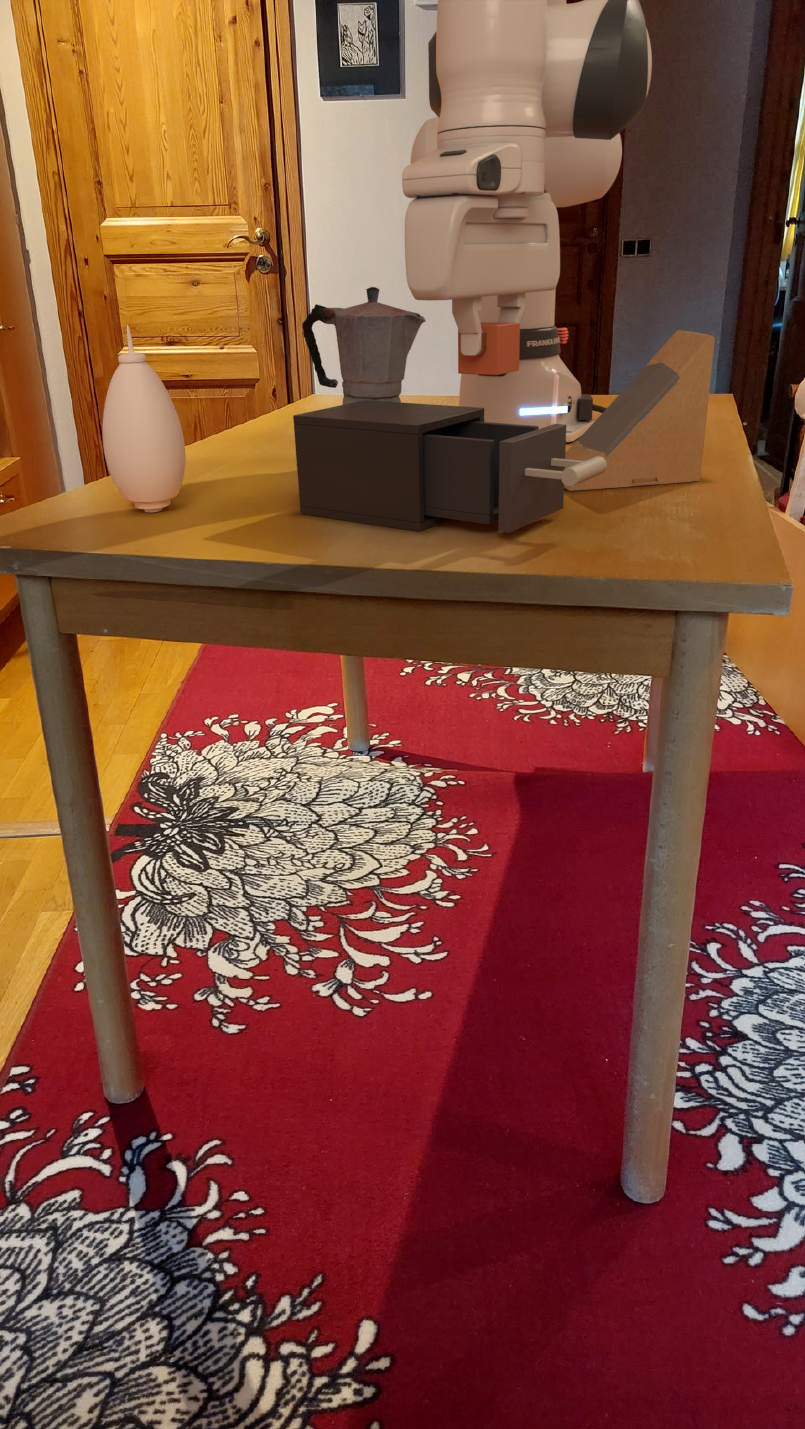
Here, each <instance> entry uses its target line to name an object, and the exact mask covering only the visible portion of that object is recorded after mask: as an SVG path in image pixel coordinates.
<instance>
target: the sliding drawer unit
mask: <svg viewBox="0 0 805 1429" xmlns="http://www.w3.org/2000/svg"><path fill="white" fill-rule="evenodd" d="M566 426H567V425H565V424H553V425H550V426H547V427H544V428H541V429H539V426H530V425H517V424H503V423H490V422H476V421H465V422H461V423H458V424H454V425H450V426H447V427H443V428H439V429H436V430H432V431H429V432H425V433H422V434H423V480H424V515H426V516H433V517H440V518H447V519H450V520H455V521H463V522H470V523H477V524H483V525H491V524H493V523H496V522H498V524H497V526H498V528H497V529H498V532H501V533H506V534H507V533H509V534H510V533H513V532H515V531H517V530H519V529H521V528H523V527H526V526H528V525H530V524H532V523H534V522H536V521H538V520H541V519H543V518H546V517H547V516H549V515H552V514H554V513H556V512H558V511H561V510H562V509H564V500H565V498H564V494H565V488H564V485H565V486H568V487H572V486H574V485H577V484H579V483H581V482H584V481H586V480H588V479H591V478H593V477H595V476H598V475H600V474H602V473H604V472H605V470H606V468H607V463H606V460H605V459H604V458H603V457H600V456H596V457H594V458H591V459H589V460H586V461H579V460H569V459H565V453H566V451H567V450H566V449H567V448H566V446H567V442H566ZM565 467H568V468H566V469H565Z"/></svg>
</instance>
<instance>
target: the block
mask: <svg viewBox="0 0 805 1429" xmlns="http://www.w3.org/2000/svg"><path fill="white" fill-rule="evenodd" d="M480 324H481V328H482V332H485V333H487V342H486V345H487V347H486V352H485V353H484V354H480V355H475V356H471V355H463V354H462V353H461V333H460V332H459V330H458V329H457V373H458V374H459V375H461V374H480V375H500V374H505V373H510V372H515V371H519V348H520V323H493V322H481V323H480Z"/></svg>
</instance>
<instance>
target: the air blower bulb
mask: <svg viewBox="0 0 805 1429" xmlns="http://www.w3.org/2000/svg"><path fill="white" fill-rule="evenodd" d="M126 340H127V349H128V352H125V353H121V354H119V355H118V358H117V360H118V363H120V364H119V365H118V366H117V368H116V369H115V371H114V373H113V375H112V377H111V380H110V382H109V386H108V389H107V393H106V395H105V396H106V397H105V400H104V408H103V412H102V413H103V414H102V431H101V432H102V433H101V434H102V446H103V453H104V458H105V463H106V466H107V470H108V473H109V475H110V478H111V479H112V482H113V484H114V486H115V487H116V489H117V491H118V492H119V493H120V495H121V496H122V497H123V499H124V500H125V501H127V502H131V503H133V504H134V507H135V509H139V510H143V512H145V513H158V512H162V511H163V510H164V509H163V508H166V507H168V506H170V505H171V500H172V499H174V498H176V497H177V496H178V495H179V493H180V490H181V488H182V485H183V481H184V478H185V472H186V460H187V459H186V458H187V457H186V444H185V438H184V432H183V429H182V424H181V421H180V418H179V414H178V411H177V409H176V406H175V404H174V401H173V400H172V397H171V395H170V394H169V391H168V390H167V388H166V386H165V384H164V383H163V381H162V379H161V377H160V376H159V375H158V374H157V373H156V371H155V370H154V369H153V368H152V367H151V365H149V363H147V362H146V361H147V356H146V354H145V353H143V352H135V349H134V343H133V338H132V333H131V328H130V326H129V324H127V325H126Z"/></svg>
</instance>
